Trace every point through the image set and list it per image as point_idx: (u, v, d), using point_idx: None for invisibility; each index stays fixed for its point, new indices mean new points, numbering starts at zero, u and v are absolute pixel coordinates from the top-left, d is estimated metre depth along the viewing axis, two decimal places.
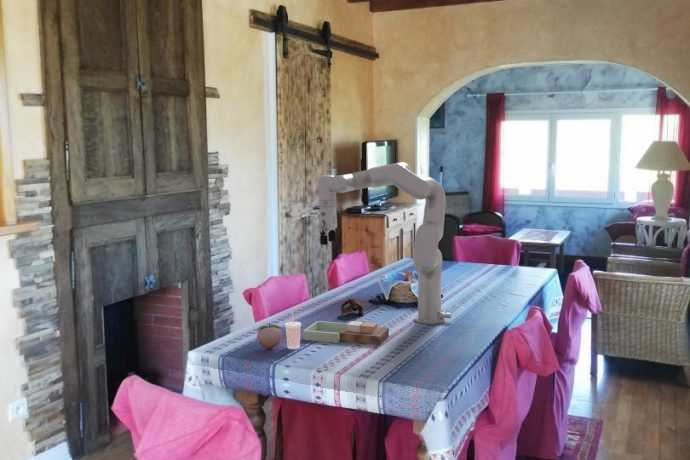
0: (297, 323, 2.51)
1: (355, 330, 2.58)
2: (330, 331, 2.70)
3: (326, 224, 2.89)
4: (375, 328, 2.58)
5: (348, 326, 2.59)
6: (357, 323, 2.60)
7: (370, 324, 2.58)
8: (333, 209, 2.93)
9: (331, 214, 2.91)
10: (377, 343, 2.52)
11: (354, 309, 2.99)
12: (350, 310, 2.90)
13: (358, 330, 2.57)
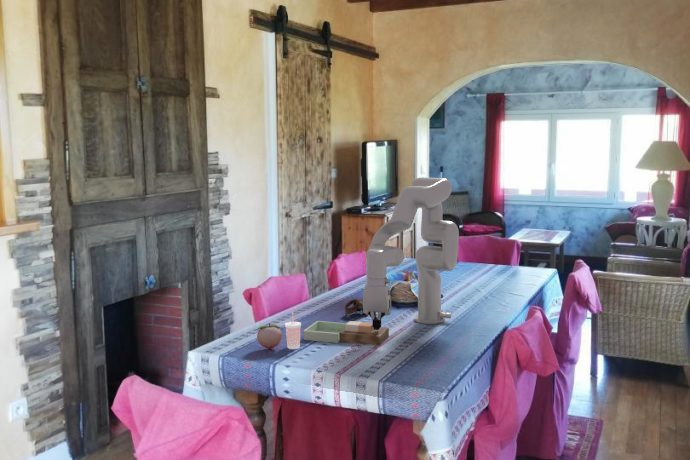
0: (297, 323, 2.51)
1: (353, 330, 2.58)
2: (330, 331, 2.70)
3: (390, 303, 2.56)
4: (372, 328, 2.58)
5: (346, 326, 2.59)
6: (355, 323, 2.60)
7: (367, 324, 2.59)
8: None
9: None
10: (377, 343, 2.52)
11: (358, 309, 2.98)
12: (354, 310, 2.89)
13: (356, 330, 2.58)
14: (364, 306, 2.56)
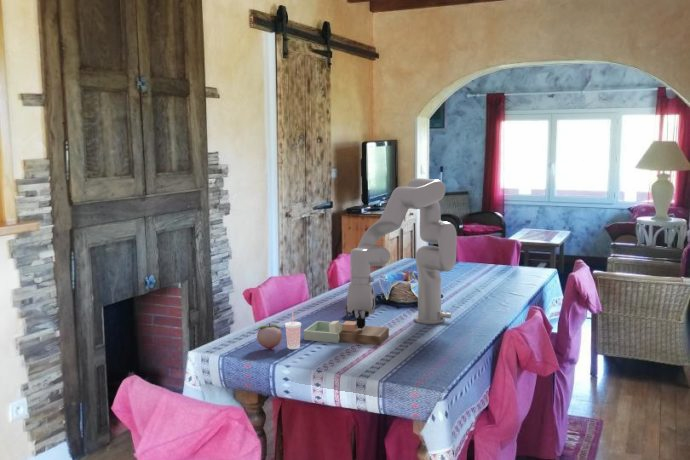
0: (297, 323, 2.51)
1: (334, 328, 2.61)
2: None
3: (374, 302, 2.58)
4: (356, 326, 2.60)
5: None
6: None
7: (351, 323, 2.61)
8: None
9: None
10: (377, 343, 2.52)
11: None
12: None
13: (333, 325, 2.61)
14: (348, 305, 2.58)
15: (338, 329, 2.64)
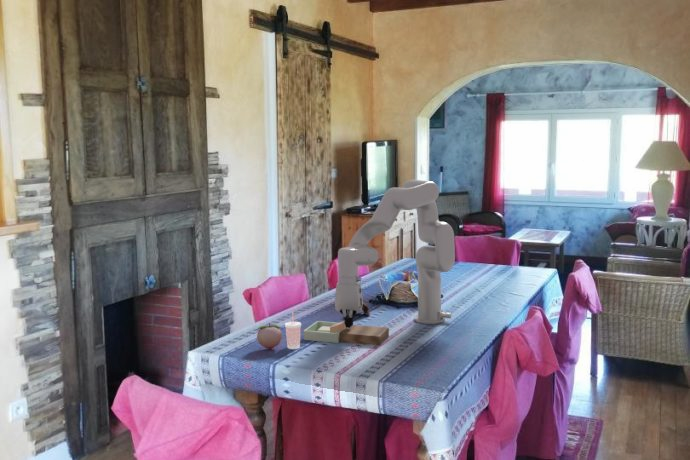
0: (297, 323, 2.51)
1: (321, 331, 2.63)
2: None
3: (362, 301, 2.60)
4: (344, 325, 2.62)
5: None
6: None
7: (338, 323, 2.62)
8: None
9: None
10: (377, 343, 2.52)
11: None
12: None
13: (319, 330, 2.63)
14: (336, 304, 2.59)
15: (328, 327, 2.65)
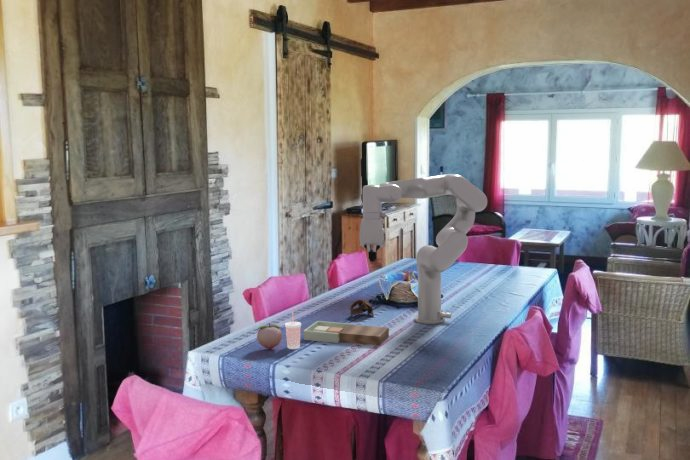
0: (297, 323, 2.51)
1: (317, 330, 2.63)
2: None
3: (385, 236, 2.72)
4: None
5: None
6: None
7: (336, 329, 2.63)
8: None
9: None
10: (377, 343, 2.52)
11: (363, 310, 2.97)
12: (360, 311, 2.88)
13: (314, 330, 2.64)
14: (360, 239, 2.72)
15: (324, 327, 2.66)
